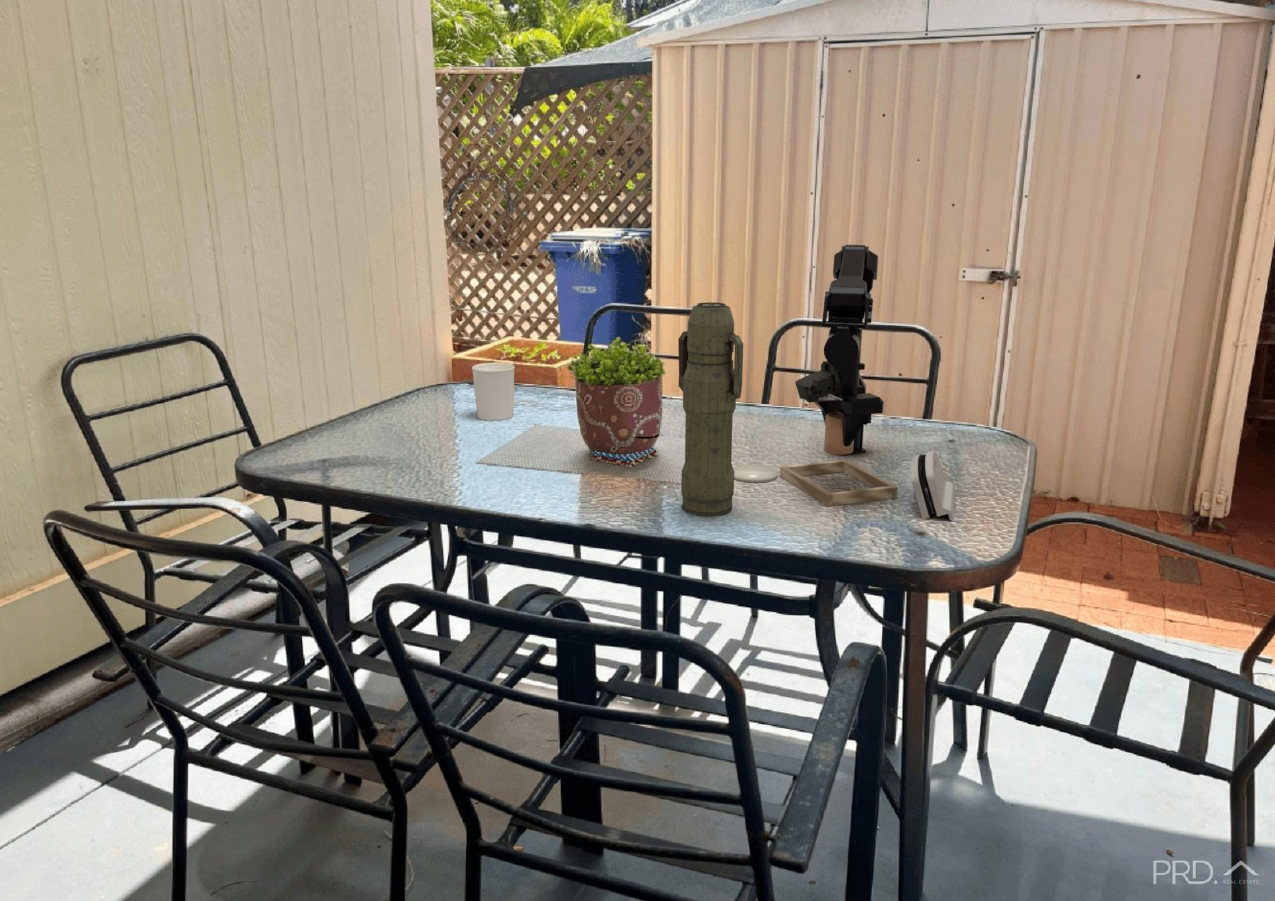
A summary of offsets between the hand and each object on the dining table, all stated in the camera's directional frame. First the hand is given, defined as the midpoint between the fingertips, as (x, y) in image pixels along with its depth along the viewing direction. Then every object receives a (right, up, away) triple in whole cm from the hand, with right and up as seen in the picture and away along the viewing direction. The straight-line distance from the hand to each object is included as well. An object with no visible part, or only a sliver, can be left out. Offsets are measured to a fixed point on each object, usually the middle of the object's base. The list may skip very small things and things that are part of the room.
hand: (839, 442), depth 180 cm
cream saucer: (-14, -6, +9) cm, 18 cm away
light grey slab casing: (+15, -11, -7) cm, 20 cm away
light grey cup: (-70, +6, +54) cm, 88 cm away
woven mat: (-39, -4, +21) cm, 45 cm away
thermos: (-25, -12, -9) cm, 28 cm away
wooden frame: (0, -8, +2) cm, 9 cm away
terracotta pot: (0, -1, 0) cm, 2 cm away
